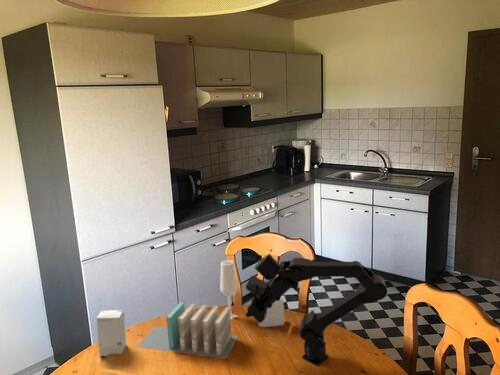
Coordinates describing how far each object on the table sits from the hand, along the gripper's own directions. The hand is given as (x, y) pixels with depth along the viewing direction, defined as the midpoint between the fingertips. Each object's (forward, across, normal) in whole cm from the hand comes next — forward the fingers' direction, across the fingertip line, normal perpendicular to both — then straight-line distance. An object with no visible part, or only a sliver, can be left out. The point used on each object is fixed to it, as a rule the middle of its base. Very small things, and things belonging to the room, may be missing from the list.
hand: (246, 315), depth 142 cm
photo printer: (+7, -18, +13) cm, 23 cm away
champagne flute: (+19, -20, 0) cm, 28 cm away
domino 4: (+18, 0, 0) cm, 18 cm away
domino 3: (+22, 0, -4) cm, 22 cm away
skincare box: (+43, +10, -24) cm, 50 cm away
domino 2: (+25, 0, -7) cm, 26 cm away
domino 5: (+15, 0, +3) cm, 15 cm away
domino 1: (+28, 0, -10) cm, 30 cm away
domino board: (+26, 0, -7) cm, 27 cm away
